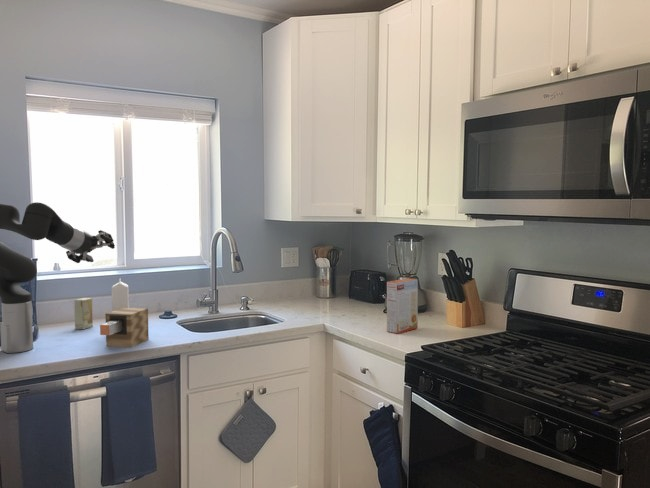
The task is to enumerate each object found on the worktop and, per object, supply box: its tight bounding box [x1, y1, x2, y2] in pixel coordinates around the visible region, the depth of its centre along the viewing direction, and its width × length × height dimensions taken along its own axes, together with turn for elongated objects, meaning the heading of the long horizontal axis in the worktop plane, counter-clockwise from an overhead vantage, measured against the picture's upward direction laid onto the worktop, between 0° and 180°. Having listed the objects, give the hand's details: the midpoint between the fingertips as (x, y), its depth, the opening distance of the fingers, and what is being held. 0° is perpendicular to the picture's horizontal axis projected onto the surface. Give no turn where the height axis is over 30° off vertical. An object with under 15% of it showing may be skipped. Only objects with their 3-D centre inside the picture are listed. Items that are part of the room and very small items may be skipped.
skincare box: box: [74, 297, 94, 330], centre depth 226 cm, size 6×4×12 cm
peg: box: [99, 319, 124, 336], centre depth 194 cm, size 12×4×4 cm, turn 168°
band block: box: [105, 307, 150, 348], centre depth 202 cm, size 12×10×12 cm
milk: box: [111, 277, 130, 312], centre depth 217 cm, size 6×6×22 cm
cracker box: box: [386, 277, 419, 334], centre depth 222 cm, size 14×6×21 cm, turn 134°
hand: (102, 252), depth 185 cm, fingers open, 8 cm apart
